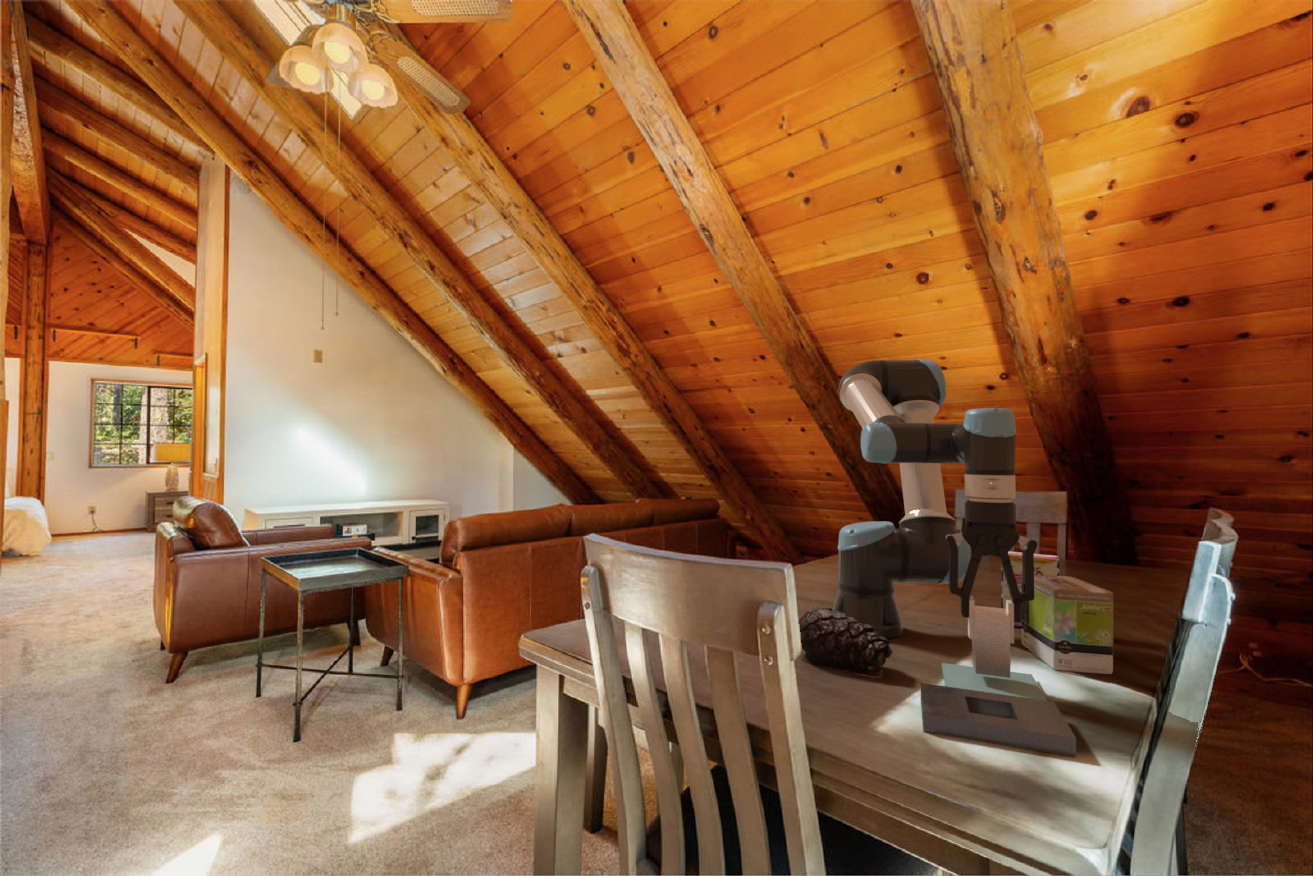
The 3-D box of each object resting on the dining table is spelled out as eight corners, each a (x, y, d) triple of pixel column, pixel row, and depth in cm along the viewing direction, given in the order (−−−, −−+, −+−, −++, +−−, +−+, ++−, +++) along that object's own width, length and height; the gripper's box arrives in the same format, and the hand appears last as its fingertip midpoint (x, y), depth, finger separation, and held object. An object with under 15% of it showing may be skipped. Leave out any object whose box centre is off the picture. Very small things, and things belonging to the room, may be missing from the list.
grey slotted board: (923, 731, 84) (923, 713, 84) (920, 698, 95) (920, 682, 95) (1076, 757, 77) (1076, 738, 77) (1053, 718, 88) (1053, 701, 88)
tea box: (1116, 676, 105) (1115, 591, 106) (1052, 671, 107) (1052, 588, 108) (1074, 648, 120) (1074, 574, 120) (1019, 644, 122) (1019, 572, 122)
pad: (946, 693, 97) (946, 687, 97) (941, 668, 108) (941, 662, 108) (1047, 708, 92) (1047, 701, 92) (1031, 680, 103) (1031, 674, 103)
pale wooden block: (975, 673, 98) (975, 612, 99) (972, 663, 103) (971, 605, 103) (1010, 678, 97) (1010, 616, 97) (1005, 667, 101) (1005, 608, 101)
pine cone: (888, 684, 101) (888, 624, 101) (787, 662, 111) (787, 608, 111) (900, 665, 110) (900, 610, 110) (806, 647, 119) (806, 597, 120)
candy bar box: (1000, 626, 135) (1000, 553, 135) (1001, 620, 139) (1001, 550, 139) (1060, 634, 129) (1059, 558, 129) (1059, 628, 133) (1059, 555, 133)
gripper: (932, 499, 100) (932, 638, 100) (1058, 504, 94) (1059, 653, 93) (929, 496, 107) (930, 626, 107) (1047, 500, 101) (1048, 639, 100)
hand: (990, 638), depth 100 cm, fingers closed on pale wooden block, 5 cm apart
